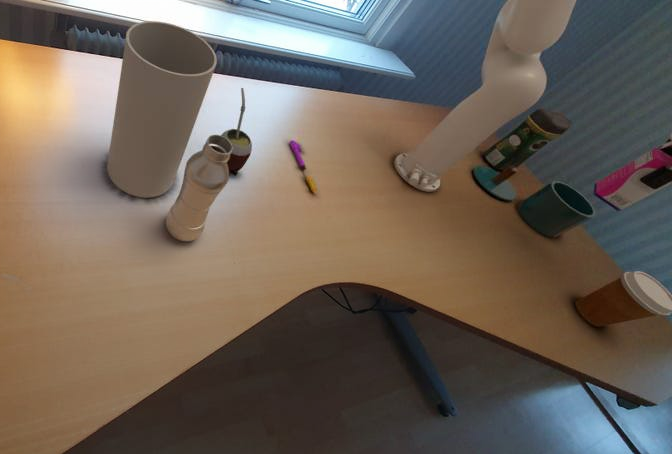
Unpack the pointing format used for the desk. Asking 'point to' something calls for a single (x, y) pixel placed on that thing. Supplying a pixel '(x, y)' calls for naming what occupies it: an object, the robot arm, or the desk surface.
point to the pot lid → (496, 181)
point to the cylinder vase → (157, 105)
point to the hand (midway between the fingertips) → (644, 175)
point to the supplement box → (631, 180)
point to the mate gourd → (238, 144)
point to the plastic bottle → (199, 188)
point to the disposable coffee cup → (626, 300)
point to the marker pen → (302, 164)
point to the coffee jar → (527, 139)
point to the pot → (556, 209)
